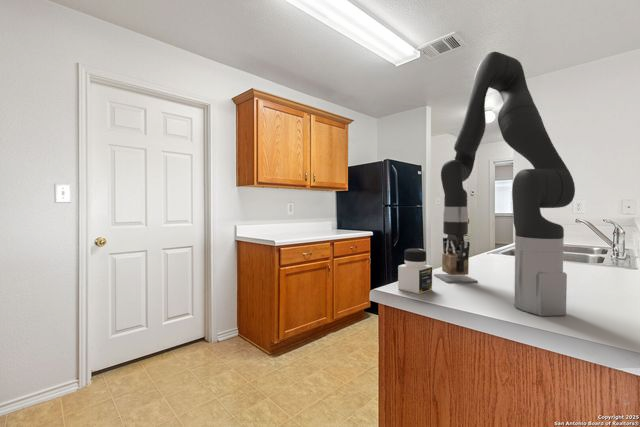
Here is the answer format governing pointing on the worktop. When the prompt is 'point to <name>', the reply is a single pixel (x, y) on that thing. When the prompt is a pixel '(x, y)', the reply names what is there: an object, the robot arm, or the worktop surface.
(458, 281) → the slate coaster
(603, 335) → the worktop surface
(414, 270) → the medicine bottle
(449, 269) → the walnut block
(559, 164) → the robot arm
